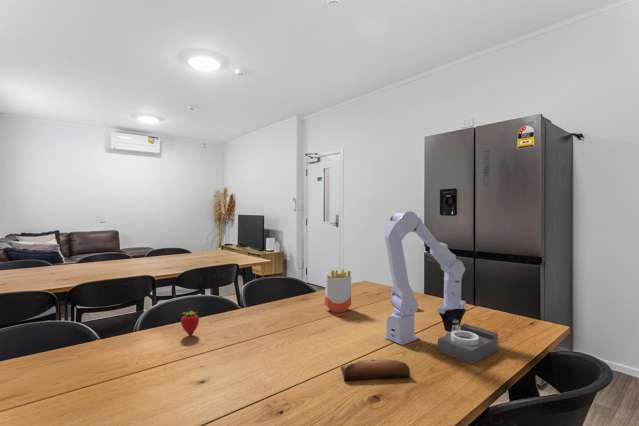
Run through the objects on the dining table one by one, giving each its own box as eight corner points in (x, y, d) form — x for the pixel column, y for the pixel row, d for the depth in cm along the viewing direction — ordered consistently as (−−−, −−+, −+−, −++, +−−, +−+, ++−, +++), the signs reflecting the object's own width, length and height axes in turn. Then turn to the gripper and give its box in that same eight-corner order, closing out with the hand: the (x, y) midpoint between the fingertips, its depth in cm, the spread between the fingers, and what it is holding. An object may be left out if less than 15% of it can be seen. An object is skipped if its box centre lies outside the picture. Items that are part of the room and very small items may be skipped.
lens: (454, 336, 118) (454, 322, 118) (442, 333, 122) (442, 319, 122) (461, 334, 121) (461, 320, 121) (449, 330, 124) (450, 316, 124)
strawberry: (180, 340, 114) (180, 311, 114) (181, 332, 121) (181, 305, 121) (198, 338, 116) (198, 309, 116) (199, 331, 123) (199, 303, 123)
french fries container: (324, 309, 150) (324, 269, 149) (347, 307, 153) (347, 268, 152) (327, 312, 145) (327, 271, 145) (351, 310, 148) (351, 269, 148)
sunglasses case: (399, 363, 98) (403, 348, 95) (407, 386, 92) (412, 371, 89) (338, 367, 96) (340, 352, 92) (342, 390, 90) (344, 375, 86)
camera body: (471, 364, 98) (471, 345, 98) (437, 351, 107) (437, 334, 106) (497, 350, 107) (497, 333, 107) (465, 339, 116) (465, 323, 116)
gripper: (451, 297, 113) (450, 337, 114) (473, 291, 122) (473, 328, 122) (432, 293, 119) (432, 331, 119) (455, 287, 128) (455, 323, 128)
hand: (452, 329), depth 121 cm, fingers closed on lens, 4 cm apart
